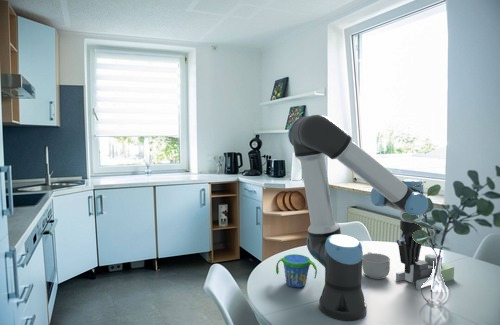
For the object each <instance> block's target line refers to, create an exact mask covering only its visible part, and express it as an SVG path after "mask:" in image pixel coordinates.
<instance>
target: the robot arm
mask: <svg viewBox="0 0 500 325" xmlns="http://www.w3.org/2000/svg"><path fill="white" fill-rule="evenodd" d="M287 135H288V136H287V137H288V140H289V143H290V144H291V145H292V146H293V151H294V152H293V153H294V157H295V158H296V159H297V160H298V161H299V162H300V166H301V173H302V179H303V185H304V191H305V198H306V203H307V210H308V213H309V221H310V222H309V223H310V225H309V226H308V228H307V232H308V233H307V238H306V248H307V250H308V252H309V254H310V255H311V256H312V257H313V259H315V260H316V261H317V262H319V264H320V265H322V266H323V268H324V273H325V274H324V287H323V289H322V293H321V295H320V297H319V300H318V301H319V302H318V305H319V306H318V307H319V308H318V309H320V311H321V312H322V313H323V314H324V315H326V316H328V317H330V318H333V319H335V320H341V321H356V320H360V319H363V318H364V317H365V316H367V310H368V309H367V306H368V305H367V302H366V300H365V296H364V295H365V294H364V292H363V289H362V288H363V287H362V281H363V279H362V277H363V275H362V274H363V267H362V258H363V255H364V254H363V245H362V243H361V242H360V241H359V239H357V238H355V237H353V236H349V235H346V234H342V233H341V226H340V224H339V223H338V222H336V221H335V215H334V209H333V202H332V198H331V191H330V185H329V178H328V172H327V165H326V156H327V157H328V158H330V159H331V160H337V161H338V162H340V163H341V164H342V165H343V166H345V167H346V168H347V169H348V170H350V171H351V172H353V174H355V175H356V176H357V177H359V178H360V179H361V180H362V181H364V182H365V183H367V184H368V185H369V186H370V187H372V189H371V191H370V199H371V202H372V204H373V205H374V206H375V207H389V208H391V209H394V210H398V211H400V216H399V218H400V221H399V223H400V224H399V229H400V230H401V232H402V233H401V237H400V239H397V240H396V244H397V245H398V252H399V258H400V260H399V261H400V263H401V264H404V270H405V279H404V281H407V282H409V283H412V282H413V272H414V265H417V263H415V262H418V260H420V253H421V249H422V244H418V243H416V242H415V241H414V240H413V238H412V234H413V232H415V231H417V230H422V231H423V226H422V227H420V226H419V225H417V224H415V223H412V222H409V221H406V220H404V219H403V218H402V214H403V213H408V214H410V215H416V216H418V215H419V219H420V220H421V219H422V220H423V214H424V213H426V212H427V210H428V207H429V200H428V197H427V196H426V195H424V184H423V185H422V186H421V187H420V188H415V187H413V186H415V185H418V184H420V183H423V181H422V180H418V179H402V180H400V179H399V178H398V177H397V176H396V175H395V174H393V173H392V172H391V171H389V169H387V168H386V167H384V165H382V164H381V162H378V161H377V159H375V158H374V157H373V156H372V155H370V154H369V153H367V152H366V151H365V150H364V149H363V148H361V146H359V145H357V144H356V143H355V142H354V141H353V137H352V135H351V134H349V133H348V132H347V131H346V130H345V129H343V128H342V127H341V126H340V125H338V124H337V123H336V122H335V121H334V120H332V119H330V118H329V117H328V116H325V115H321V114H312V115H308V116H307V115H306V116H301V117H299V118H297V119H295V120H293V122H292V123H291V124H290V126H289V129H288V132H287ZM420 191H421V193H420ZM422 220H421V221H422Z"/></svg>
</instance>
